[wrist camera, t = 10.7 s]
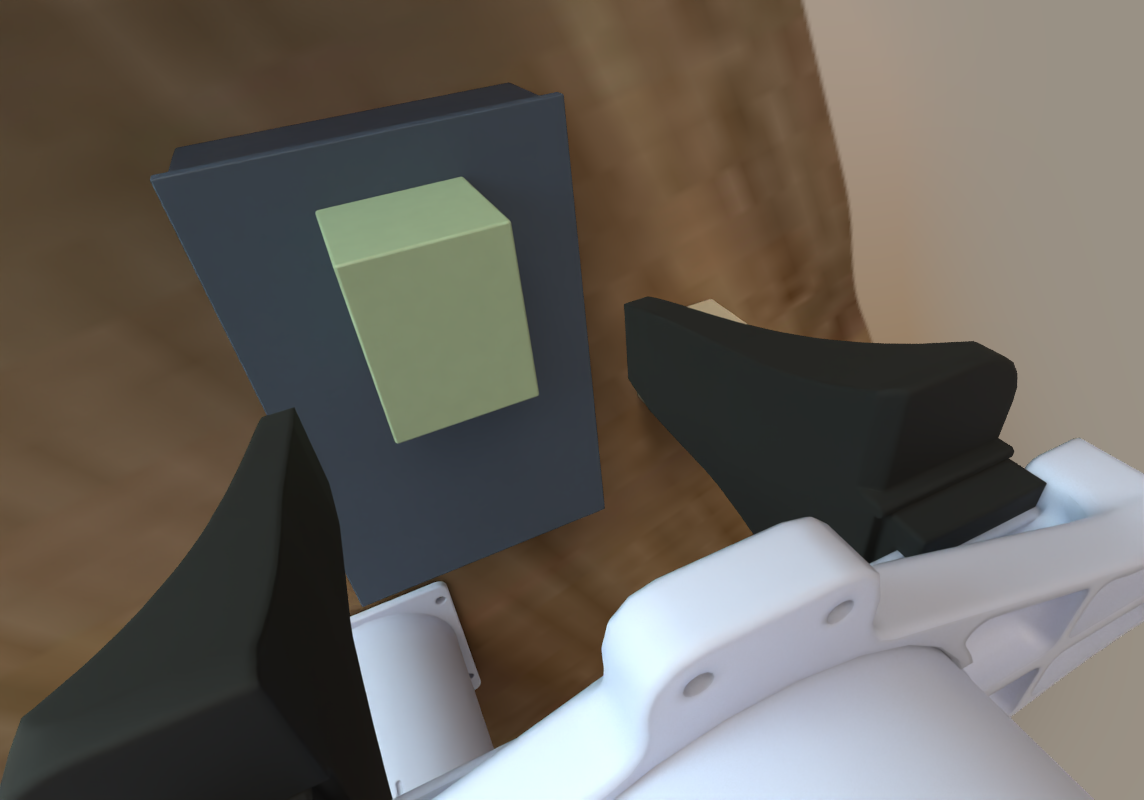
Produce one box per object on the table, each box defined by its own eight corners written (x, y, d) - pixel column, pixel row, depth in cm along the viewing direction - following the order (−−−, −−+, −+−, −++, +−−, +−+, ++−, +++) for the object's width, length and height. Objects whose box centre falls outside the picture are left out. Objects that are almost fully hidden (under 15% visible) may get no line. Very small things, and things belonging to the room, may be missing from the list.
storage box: (567, 454, 30) (604, 509, 27) (347, 536, 27) (362, 607, 24) (514, 73, 20) (563, 94, 17) (162, 141, 18) (149, 179, 15)
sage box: (494, 332, 20) (540, 396, 17) (370, 370, 19) (396, 445, 16) (462, 174, 17) (511, 220, 14) (314, 210, 16) (332, 266, 13)
